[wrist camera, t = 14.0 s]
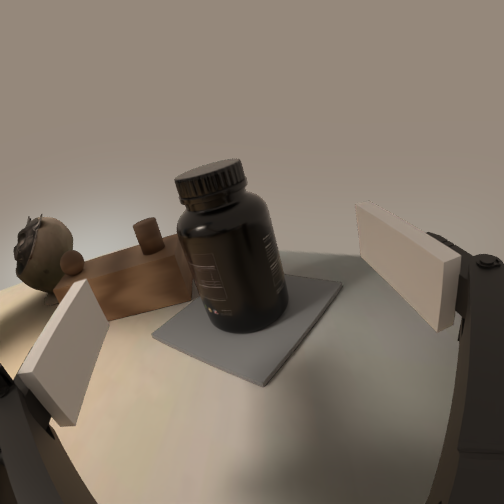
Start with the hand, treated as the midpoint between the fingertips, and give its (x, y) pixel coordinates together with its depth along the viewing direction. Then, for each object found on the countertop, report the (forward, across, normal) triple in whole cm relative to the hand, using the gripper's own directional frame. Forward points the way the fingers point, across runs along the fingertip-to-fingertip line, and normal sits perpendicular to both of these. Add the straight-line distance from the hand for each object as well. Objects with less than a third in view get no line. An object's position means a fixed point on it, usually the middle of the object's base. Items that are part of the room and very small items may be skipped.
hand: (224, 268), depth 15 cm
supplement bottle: (+9, 0, -9) cm, 13 cm away
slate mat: (+9, 0, -9) cm, 13 cm away
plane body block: (+17, -12, -9) cm, 23 cm away
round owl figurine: (+26, -26, -9) cm, 38 cm away
